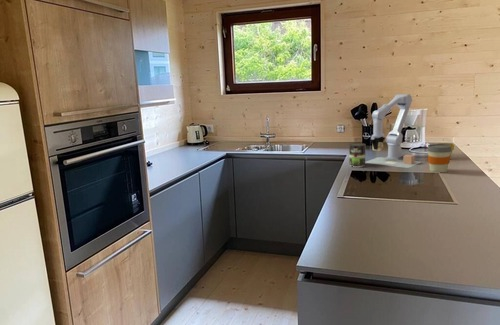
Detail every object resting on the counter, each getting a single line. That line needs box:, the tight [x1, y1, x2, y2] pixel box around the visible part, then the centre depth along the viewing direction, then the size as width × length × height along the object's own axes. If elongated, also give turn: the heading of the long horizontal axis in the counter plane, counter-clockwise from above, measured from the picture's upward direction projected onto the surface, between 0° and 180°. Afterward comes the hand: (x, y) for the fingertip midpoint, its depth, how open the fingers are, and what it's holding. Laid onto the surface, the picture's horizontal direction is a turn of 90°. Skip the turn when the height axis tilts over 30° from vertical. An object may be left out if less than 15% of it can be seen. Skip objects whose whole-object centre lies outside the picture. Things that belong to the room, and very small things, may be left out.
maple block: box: [371, 142, 384, 152], centre depth 255 cm, size 5×5×5 cm
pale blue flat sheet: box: [365, 156, 422, 169], centre depth 249 cm, size 20×30×1 cm, turn 44°
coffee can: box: [348, 142, 367, 168], centre depth 246 cm, size 10×10×14 cm
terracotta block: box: [402, 154, 416, 164], centre depth 243 cm, size 5×5×5 cm
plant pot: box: [438, 142, 455, 156], centre depth 252 cm, size 10×10×10 cm
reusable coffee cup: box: [427, 143, 452, 173], centre depth 221 cm, size 13×13×15 cm
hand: (377, 148), depth 256 cm, fingers closed on maple block, 5 cm apart
